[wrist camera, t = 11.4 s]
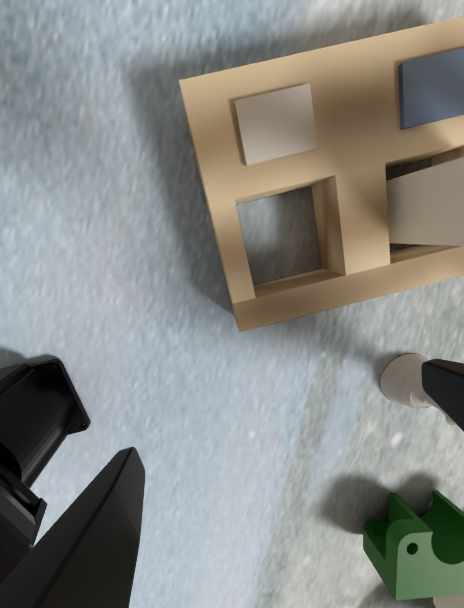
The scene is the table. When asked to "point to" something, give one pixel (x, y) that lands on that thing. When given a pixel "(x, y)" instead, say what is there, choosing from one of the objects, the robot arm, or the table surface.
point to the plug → (428, 206)
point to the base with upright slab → (449, 601)
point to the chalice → (407, 383)
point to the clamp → (418, 549)
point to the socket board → (330, 160)
